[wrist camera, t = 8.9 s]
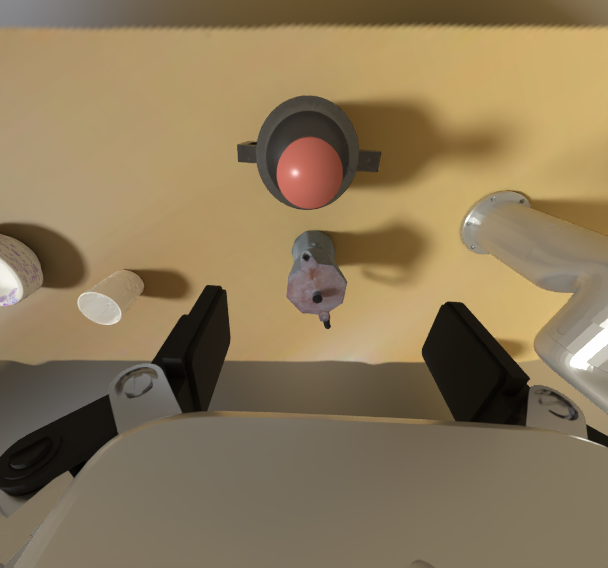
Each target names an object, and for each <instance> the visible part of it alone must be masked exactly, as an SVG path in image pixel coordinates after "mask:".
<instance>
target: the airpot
mask: <svg viewBox="0 0 608 568" xmlns="http://www.w3.org/2000/svg"><path fill="white" fill-rule="evenodd" d="M307 136H312V137H317V138H320V139H322V140H324V141H325V142H327V143H328V144H329V145H330V146H332V147H333V148H334V150H335V151H336V152H337V154H338V156H339V158H340V160H341V163H342V168H343V178H342V183H341V186H340V188H339V190H338V192H337V194H336V195H335V196H334V198H333V199H332V200H331V201H329V202H328V203H327V204H325V205H323V206H321V207H324V206H327V205H329V204H330V203H332V202H334V201H335V200H336V199H338V198H339V197H340V196H341V195H342V194H343V193H344V192H345V191H346V189H347V188H348V187H349V185H350V183H351V182H352V180H353V178H354V175H355V172H356V171H369V172H378V167H379V162H380V156H381V152H380V151H374V150H359V146H358V139H357V136H356V132H355V130H354V127H353V125H352V123H351V121H350V120H349V118H348V117H347V115H346V114H345V113H344V112H343V111H342V110H341V109H340V108H339V107H338V106H337V105H335V104H334V103H332V102H330V101H328V100H326V99H324V98H321V97H316V96H299V97H295V98H292V99H289V100H287V101H285V102H283V103H282V104H280V105H279V106H278V107H276V108H275V109H274V110H273V111H272V112H271V113H270V115H269V116H268V117H267V118H266V120H265V122H264V123H263V125H262V127H261V130H260V132H259V136H258V139H257V142H255V141H247V142H244V143H241V144H238V145H237V150H238V162H247V163H257V167H258V171H259V174H260V177H261V179H262V181H263V183H264V184H265V186H266V188H267V189H268V190H269V191H270V193H271V194H272V195H273V196H274V197H275V198H276V199H278V200H279V201H280V202H282V203H284V204H285V205H287V206H290V207H292V208H296V209H302V210H312V209H305V208H301V207H298V206H295V205H294V204H292V203H291V202H289V201H288V200H287V199H286V198H285V196H284V195H283V194H282V192H281V190H280V188H279V185H278V181H277V166H278V162H279V159H280V157H281V155H282V154H283V152H284V151H285V149H286V148H287V147H288V146H289V145H290V144H291V143H292V142H293V141H295V140H297V139H299V138H302V137H307ZM321 207H318V208H321ZM318 208H313V209H318Z"/></svg>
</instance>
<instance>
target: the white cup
mask: <svg viewBox="0 0 608 568" xmlns="http://www.w3.org/2000/svg"><path fill="white" fill-rule="evenodd" d="M143 290H144V283H143V281H142V279H141V278H140V277H139V276H138V275H137V274H135V273H133V272H132V271H128V270H119V271H116V272H115V273H114V274H112V275H111V276H109V277H107V278H105V279H104V280H102V281H101V282H99V283H98V284H96V285H95V286H93V287H92V288H90V289H89V290H88V291H86V292H85V293H83V294H82V295H81V296H80V297H79V298H78V307H79V309H80V311H81V312H82V313H83V314H84V315H85V316H86V317H87V318H89V319H90V320H92V321H94V322H96V323H100V324H105V325H111V324H115V323H117V322H118V321H119V320H120V319H121V318H122V317H123V316H124V314H125V313H126V312H127V311H128V310H129V308H130V307H131V306H132V305H133V303H134V302H135V301H136V300H137V298H138V297H139V295H140V294H141V293H142V292H143Z"/></svg>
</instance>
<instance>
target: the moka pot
mask: <svg viewBox="0 0 608 568" xmlns="http://www.w3.org/2000/svg"><path fill="white" fill-rule="evenodd" d="M292 254H293V258H294V264H293V267H292V270H291V272H290V274H289V277H288V287H287V298H288V299H289V300H290V301H291V302H292V303H293V304H294V305H295V307H296V308H297V309H298V310H299V311H300V312H302V313H310V314H317V315H318V316H319V318H320V321H323V323H324V326H325V328H326V329H329V328H330V327H331V325H330V320H329V319H330V315H329V312H330V311H331V310H332V309H334V308H335V307H337V306H339V305H340V304H342V303H343V299H344V295H345V290H346V286H347V281H346V279H345V277H344V276H343V274H342V272H341V271H340V269H339V267H338V265H337V264H336V263H335V261H334V258H335V249H334V245H333V242H332V239H331V238H330V237H329V236H328V235H326V234H325V233H323V232H321V231H306V232H304V233H303V234H301V235H300V236H299V237H298V238H297V239H296V240H295V242H294V245H293V249H292Z"/></svg>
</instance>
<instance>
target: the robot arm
mask: <svg viewBox="0 0 608 568" xmlns="http://www.w3.org/2000/svg"><path fill="white" fill-rule="evenodd" d="M460 235H461V240H462V242H463V244H464V245H465V246H466V247H467V248H468V249H469V250H471V251H473V252H474V253H478V254H491V255H493V256H494V257H495V258H497V259H498V260H500V261H501V262H503V263H504V264H506V265H507V266H508V267H510V268H511V269H513V270H514V271H516V272H517V273H519V274H520V275H521V276H523V277H524V278H526V279H527V280H529V281H530V282H532V283H533V284H535V285H536V286H538V287H540V288H542V289H545V290H548V291H552V292H559V293H574V294H573V295H572V296H571V298H570V299H569V300H568V302H567V303H566V304H565V305H564V306H563V307H562V308H561V309H560V310H559V311H558V312H557V313H556V314H555V315H554V316H553V317H552V318H551V319H550V320H549V322H548V323H547V324H546V325H545V326H544V327H543V328H542V329H541V330H540V331H539V332H538V334H537V335H536V337H535V339H534V349H535V351H536V353H537V354H538V356H539V357H540V358H541V359H542V360H543V361H544V362H545V363H546V364H547V365H548V366H549V367H550V368H551V369H552V370H553V371H554V372H556V373H557V374H558V375H559V376H561V377H562V378H563V379H564V380H565V381H567V382H568V383H569V384H571V385H572V386H573V387H574V388H575V389H577V390H578V391H579V392H580V393H581V394H583V395H584V396H585V397H587V398H588V399H589V400H590V401H591V402H593V403H594V404H595V405H596V406H598V407H599V408H600V409H601V410H603V411H604V412H605V413H606V414H608V236H606V235H603V234H600V233H597V232H595V231H592V230H589V229H586V228H584V227H581V226H578V225H576V224H573V223H570V222H567V221H565V220H562V219H559V218H556V217H554V216H551V215H548V214H546V213H543V212H540V211H537V210H535V209H532V208H531V206H530V203H529V201H528V200H527V198H525V197H524V196H523V195H521V194H519V193H516V192H513V191H500V192H496V193H493V194H490V195H488V196H486V197H484V198H483V199H481V200H480V201H478V202H477V203H476V204H475V205H474V206H473V207H472V208H471V209H470V210H469V211H468V213H467V215H466V216H465V218H464V220H463V222H462V226H461V234H460ZM229 345H230V327H229V316H228V305H227V293H226V290H223V289H222V287H221V286H214V285H206V287H205V288H204V290H203V292H202V293H201V295H200V297H199V298H198V300H197V301H196V303H195V305H194V306H193V308H192V310H191V311H190V313H189V315H185V314H184V315H182V316H181V318H180V319H179V320H178V322H177V324H176V325H175V327H174V328H173V330H172V331H171V333H170V335H169V336H168V338H167V339H166V341H165V342H164V344H163V345H162V347H161V349H160V350H159V352H158V353H157V355H156V356H155V358H154V359H153V361H152V363H151V364H149V363H146V364H139V365H135V366H133V367H130V368H128V369H126V370H124V371H123V372H121V373H120V374H119V375H118V376H116V378H115V379H114V380H113V381H112V383H111V385H110V387H109V394H108V395H106V396H104V397H102V398H100V399H98V400H96V401H94V402H92V403H90V404H88V405H86V406H84V407H82V408H80V409H78V410H76V411H74V412H72V413H70V414H68V415H66V416H64V417H62V418H60V419H58V420H56V421H54V422H52V423H50V424H48V425H46V426H44V427H42V428H40V429H38V430H36V431H34V432H32V433H30V434H28V435H26V436H25V437H23V438H21V439H20V440H18V441H17V442H16V443H14V444H13V445H12V446H11V447H10V448H8V449H7V450H6V451H5V452H4V454H3V455H2V456H1V457H0V568H4V566H5V564H7V562H8V561H9V560H10V559H11V558H12V557H13V556H14V555H15V553H16V552H17V551H18V550H19V549H21V548H22V547H23V546H24V545H25V544H26V543H27V542H28V541H29V540H30V539H31V538H32V535H31V533H32V532H33V531H34V530H35V529H36V528H38V527H39V526H40V525H41V524H42V525H41V526H40V528H39V529H38V531H37V532H36V534H35V535H34V537H33V538H32V540H31V541H30V543H29V544H28V546H27V547H26V549H25V550H24V552H23V554H22V555H21V557H20V558H19V560H18V561H17V563H16V565H15V566H14V567H13V568H608V436H606V435H605V434H603V433H601V432H599V431H597V430H595V429H594V428H592V427H590V426H588V425H586V421H585V417H584V414H583V412H582V411H581V409H580V408H579V407H578V406H577V405H576V404H575V403H574V402H573V401H572V400H571V399H569V398H568V397H567V396H565V395H564V394H562V393H560V392H558V391H557V390H554V389H552V388H549V387H546V386H542V385H534V386H532V387H529V386H528V385H527V384H526V383H527V382H528V381H529V379H530V378H529V377H528V376H527V374H526V373H525V372H524V371H523V370H522V369H521V368H520V367H519V365H518V364H517V363H516V362H515V361H514V360H513V359H512V358H511V356H510V355H509V354H508V353H507V352H506V351H505V350H504V349H503V347H502V346H501V345H500V344H499V343H498V342H497V341H496V340H495V338H494V337H493V336H492V335H491V334H490V333H489V332H488V331H487V329H486V328H485V327H484V326H483V325H482V324H481V323H480V322H479V320H478V319H477V318H476V317H475V316H474V315H473V314H472V313H471V311H470V310H469V309H468V308H467V307H466V306H465V305H464V304H463V303H461V302H446V303H445V304H444V305H442V306H441V307H440V309H439V312H438V314H437V316H436V318H435V321H434V323H433V325H432V327H431V330H430V332H429V334H428V337H427V339H426V341H425V343H424V346H423V348H422V356H423V358H424V360H425V362H426V364H427V366H428V368H429V370H430V372H431V374H432V376H433V378H434V380H435V382H436V384H437V386H438V388H439V390H440V392H441V394H442V396H443V398H444V400H445V401H446V403H447V405H448V407H449V409H450V411H451V413H452V415H453V417H454V419H455V421H439V420H421V419H402V418H382V417H361V416H340V415H318V414H294V413H272V412H237V411H236V412H233V411H211V412H210V411H207V409H208V407H209V404H210V401H211V398H212V395H213V392H214V389H215V386H216V383H217V380H218V377H219V374H220V371H221V368H222V365H223V363H224V360H225V357H226V354H227V351H228V348H229Z"/></svg>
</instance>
